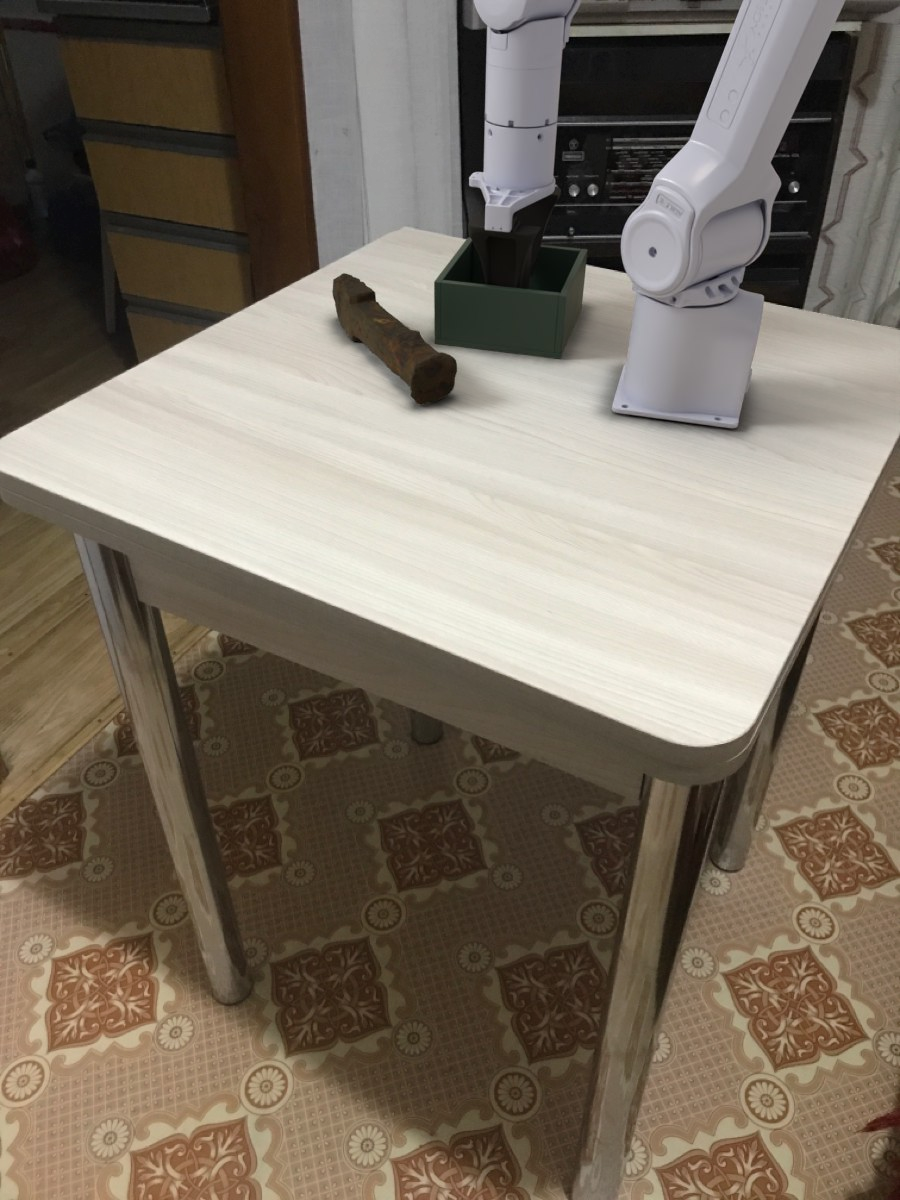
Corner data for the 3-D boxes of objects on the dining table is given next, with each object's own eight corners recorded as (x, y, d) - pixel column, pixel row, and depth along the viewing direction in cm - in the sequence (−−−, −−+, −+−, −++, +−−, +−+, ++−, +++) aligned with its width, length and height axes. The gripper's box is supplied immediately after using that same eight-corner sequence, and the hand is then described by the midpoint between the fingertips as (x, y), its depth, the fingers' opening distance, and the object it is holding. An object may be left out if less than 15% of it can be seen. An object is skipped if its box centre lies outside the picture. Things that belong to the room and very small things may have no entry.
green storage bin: (581, 308, 86) (587, 249, 82) (560, 359, 77) (566, 296, 74) (466, 295, 88) (467, 237, 84) (434, 343, 80) (433, 281, 76)
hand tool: (459, 399, 72) (460, 343, 69) (413, 410, 70) (412, 353, 67) (366, 312, 85) (364, 262, 82) (326, 320, 83) (322, 269, 80)
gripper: (492, 96, 78) (488, 256, 86) (447, 138, 67) (447, 316, 76) (574, 101, 76) (561, 263, 85) (541, 146, 66) (529, 325, 74)
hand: (512, 289), depth 80 cm, fingers open, 7 cm apart
